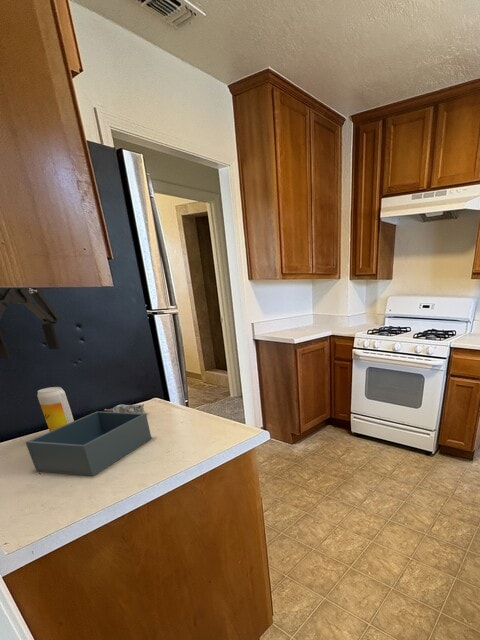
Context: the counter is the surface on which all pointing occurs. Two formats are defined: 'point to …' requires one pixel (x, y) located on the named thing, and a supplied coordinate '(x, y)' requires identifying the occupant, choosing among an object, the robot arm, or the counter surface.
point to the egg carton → (127, 409)
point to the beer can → (55, 407)
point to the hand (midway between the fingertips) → (31, 353)
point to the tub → (89, 443)
